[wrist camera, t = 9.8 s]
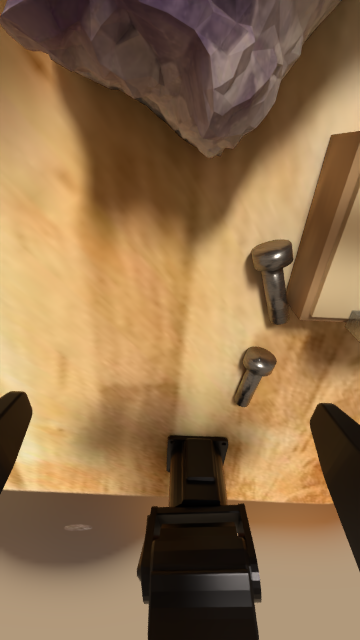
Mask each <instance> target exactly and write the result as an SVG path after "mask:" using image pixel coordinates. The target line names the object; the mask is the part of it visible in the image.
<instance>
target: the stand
mask: <svg viewBox="0 0 360 640" xmlns="http://www.w3.org/2000/svg"><path fill="white" fill-rule="evenodd" d="M286 296H287V303H288V305H289V306H290V307H291V309H292V310H293V312H294V313H295V314H296V316H297V317H298V319H299V320H311V321H333V322H347V321H348V318H349V316H350V314H351V312H352V310H356V311H360V131H356V132H349V133H342V134H335V135H331V139H330V142H329V145H328V149H327V152H326V156H325V159H324V163H323V166H322V170H321V173H320V177H319V180H318V184H317V187H316V190H315V194H314V197H313V201H312V204H311V208H310V211H309V215H308V218H307V222H306V225H305V229H304V232H303V235H302V239H301V242H300V246H299V249H298V253H297V256H296V260H295V263H294V267H293V270H292V274H291V277H290V280H289V284H288V287H287V291H286Z"/></svg>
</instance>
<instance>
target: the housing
mask: <svg viewBox="0 0 360 640" xmlns="http://www.w3.org/2000/svg"><path fill="white" fill-rule="evenodd" d="M345 327H346V328H347V329H348V331H349V332H350V333H351V334H352V335H353V336H354V337H355V338H356V339H357V340H358V341H359V342H360V311H356V310H352V312H351V314H350V316H349V318H348V321H347V323H346V325H345Z"/></svg>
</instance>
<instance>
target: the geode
mask: <svg viewBox="0 0 360 640" xmlns="http://www.w3.org/2000/svg"><path fill="white" fill-rule="evenodd" d="M341 1H342V0H7V3H6V5H5V8H4V10H3V12H2V14H1V16H0V24H1V25H2V27H3V28H4V29H5V31H6V32H7V33H8V34H9V35H10V36H11V37H12V38H14V39H15V40H16V41H17V42H18V43H19V44H21V45H22V46H23V47H24V48H25V49H28V50H31V51H42V52H45V53H47V54H49V56H50V58H51V60H53V61H55V62H56V63H58V64H60V65H61V66H63V67H65V68H66V69H68V70H70V71H71V72H72V71H74V72H76V73H78V74H80V75H82V76H84V77H86V78H88V79H91V80H93V81H95V82H97V83H99V84H101V85H103V86H105V87H107V88H109V89H115V90H121V91H122V92H124V93H126V94H127V95H129V96H131V97H132V98H133V99H136V100H138V101H139V102H141V103H143V104H144V105H146V106H147V107H148V108H150V109H151V110H152V111H153V112H154V113H155V114H156V115H157V116H158V117H159V118H161V119H162V120H163V121H165V122H166V123H167V124H168V125H169V126H170V127H171V128H172V129H173V130H174V131H175V132H176V133H177V134H178V135H179V136H180V137H182V138H183V139H184V140H185V141H187V142H188V143H189V144H191V145H193V146H195V147H197V148H198V150H199V151H200V152H201V153H202V154H204V155H205V156H206V157H208V158H213V157H214V156H221V155H222V153H223V151H224V149H225V148H230V149H234V148H235V147H236V145H237V144H238V142H239V141H240V140H241V138H242V137H243V136H244V135H246V134H247V133H249V132H251V131H252V130H254V129H255V128H256V127H257V126H258V125H259V124H260V123H261V122H262V120H263V119H264V118H265V117H266V115H267V114H268V112H269V111H270V109H271V108H272V106H273V104H274V103H275V101H276V97H277V93H278V89H279V86H280V82H281V80H282V79H283V78H284V77H285V76H286V74H287V73H288V71H289V70H290V69H291V67H292V66H293V65H294V63H295V62H296V61H297V59H298V58H299V57H300V55H301V49H302V46H303V44H304V42H305V41H306V40H307V39H308V38H309V37H310V35H311V34H312V33H313V31H314V30H315V29H316V28H317V27H318V26H319V24H320V23H321V22H322V21H323V20H324V19H325V18H326V17H327V16H328V15H329V14H330V13H331V12H332V11H333V10H334V8H335V7H336V6H337V5H338V4H339V3H340V2H341Z"/></svg>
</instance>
